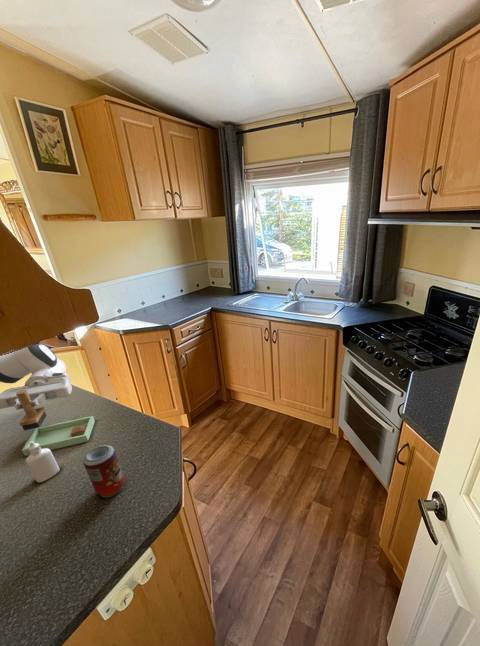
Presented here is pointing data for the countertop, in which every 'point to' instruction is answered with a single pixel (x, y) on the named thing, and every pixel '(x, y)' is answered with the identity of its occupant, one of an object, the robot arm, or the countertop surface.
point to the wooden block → (78, 430)
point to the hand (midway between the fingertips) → (26, 405)
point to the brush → (30, 412)
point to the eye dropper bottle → (41, 462)
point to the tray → (59, 434)
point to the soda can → (104, 470)
